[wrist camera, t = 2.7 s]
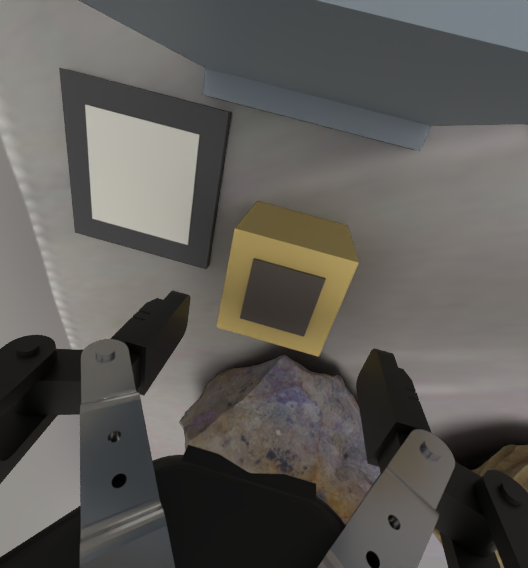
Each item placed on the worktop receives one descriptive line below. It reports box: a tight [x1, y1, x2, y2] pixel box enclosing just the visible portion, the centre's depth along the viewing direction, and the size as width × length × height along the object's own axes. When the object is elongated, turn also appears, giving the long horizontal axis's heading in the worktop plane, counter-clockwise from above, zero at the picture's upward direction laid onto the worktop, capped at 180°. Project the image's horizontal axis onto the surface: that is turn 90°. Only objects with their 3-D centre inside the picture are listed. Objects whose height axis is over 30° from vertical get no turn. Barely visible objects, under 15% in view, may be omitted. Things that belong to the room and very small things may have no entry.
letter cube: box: [217, 201, 359, 357], centre depth 18 cm, size 6×6×6 cm
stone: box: [179, 355, 380, 524], centre depth 23 cm, size 18×10×15 cm
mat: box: [59, 68, 231, 269], centre depth 19 cm, size 10×10×1 cm
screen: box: [79, 0, 528, 151], centre depth 9 cm, size 4×12×14 cm, turn 77°
